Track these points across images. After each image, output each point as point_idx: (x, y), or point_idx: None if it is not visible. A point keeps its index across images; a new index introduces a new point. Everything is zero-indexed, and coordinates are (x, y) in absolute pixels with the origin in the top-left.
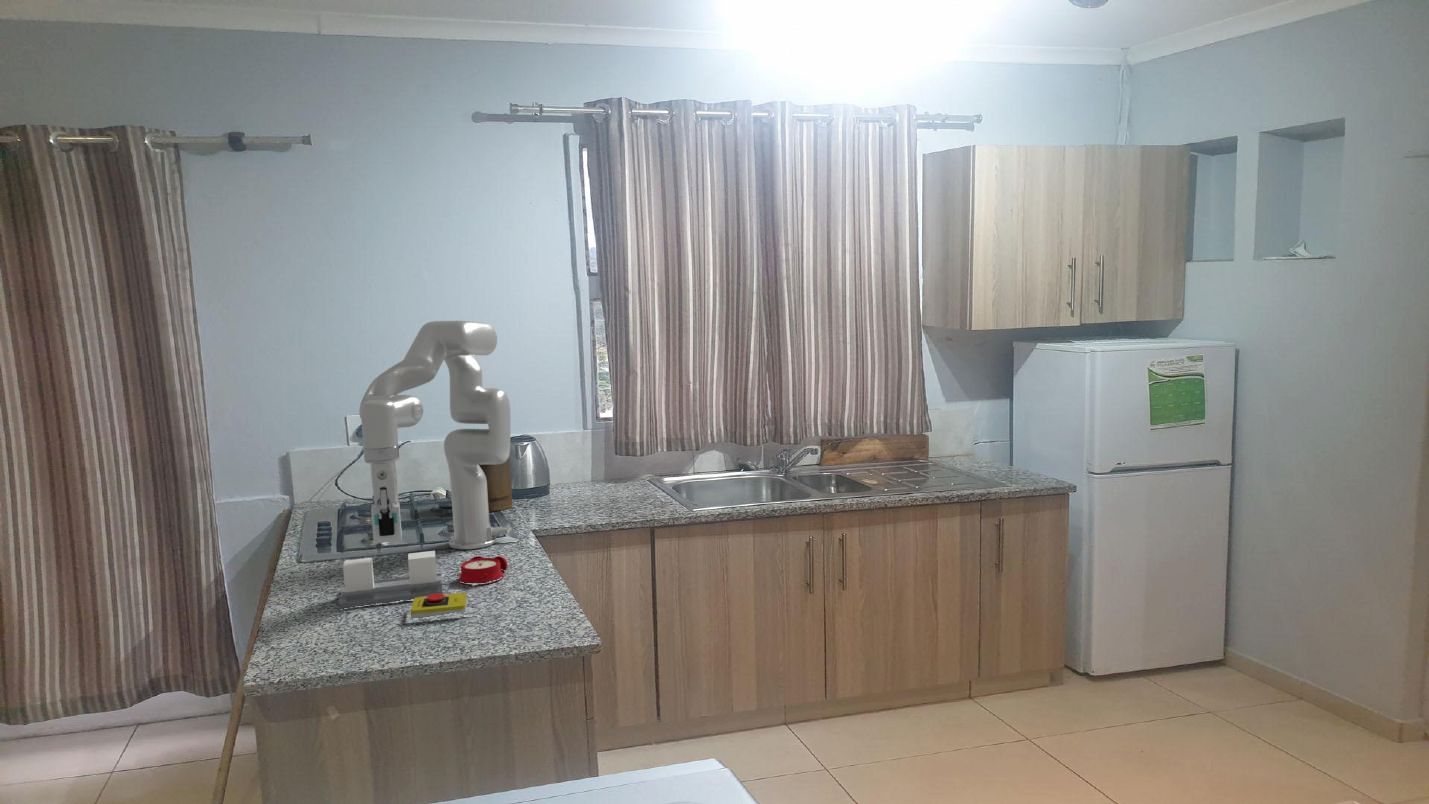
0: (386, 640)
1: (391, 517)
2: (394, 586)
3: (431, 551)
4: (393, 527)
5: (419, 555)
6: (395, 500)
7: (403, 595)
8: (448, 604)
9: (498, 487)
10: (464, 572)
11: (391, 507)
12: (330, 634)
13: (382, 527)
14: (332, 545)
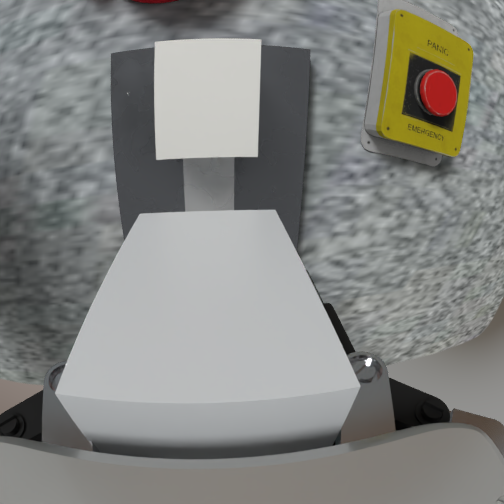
0: (482, 203)
1: (376, 359)
2: (233, 188)
3: (161, 55)
4: (320, 297)
5: (210, 107)
6: (498, 451)
7: (300, 159)
8: (457, 72)
9: None
10: None
11: (336, 433)
12: (410, 293)
13: None
14: None
